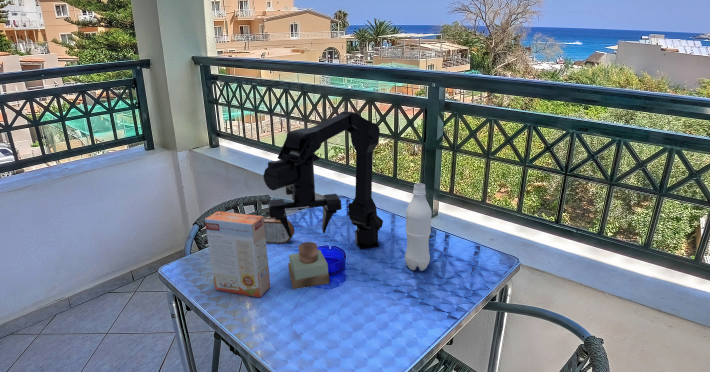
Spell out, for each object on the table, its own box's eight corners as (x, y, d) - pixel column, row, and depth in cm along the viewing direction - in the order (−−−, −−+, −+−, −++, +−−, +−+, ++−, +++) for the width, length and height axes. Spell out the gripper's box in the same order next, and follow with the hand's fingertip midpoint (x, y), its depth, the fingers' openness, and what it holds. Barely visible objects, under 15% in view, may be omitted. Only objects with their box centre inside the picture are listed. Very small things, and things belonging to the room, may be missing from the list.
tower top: (320, 258, 122) (320, 249, 121) (328, 273, 114) (327, 264, 113) (289, 264, 119) (288, 254, 118) (295, 280, 111) (294, 270, 110)
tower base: (322, 267, 123) (322, 258, 122) (329, 285, 114) (329, 275, 113) (288, 272, 121) (288, 263, 120) (292, 291, 112) (291, 281, 111)
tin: (295, 240, 139) (293, 217, 136) (293, 245, 136) (291, 221, 133) (251, 239, 141) (248, 216, 138) (248, 243, 138) (245, 220, 135)
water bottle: (434, 266, 121) (438, 184, 113) (420, 275, 116) (423, 191, 108) (414, 258, 126) (416, 179, 118) (399, 267, 121) (400, 185, 113)
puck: (315, 253, 118) (315, 240, 117) (319, 261, 114) (318, 248, 113) (298, 256, 117) (297, 243, 116) (301, 264, 113) (300, 251, 111)
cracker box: (271, 286, 113) (264, 215, 106) (259, 299, 108) (251, 224, 101) (227, 278, 117) (218, 209, 111) (214, 290, 112) (203, 218, 105)
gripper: (332, 168, 118) (335, 219, 123) (265, 174, 114) (270, 226, 119) (340, 179, 107) (342, 235, 112) (267, 187, 103) (272, 243, 108)
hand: (306, 234), depth 113 cm, fingers open, 9 cm apart
